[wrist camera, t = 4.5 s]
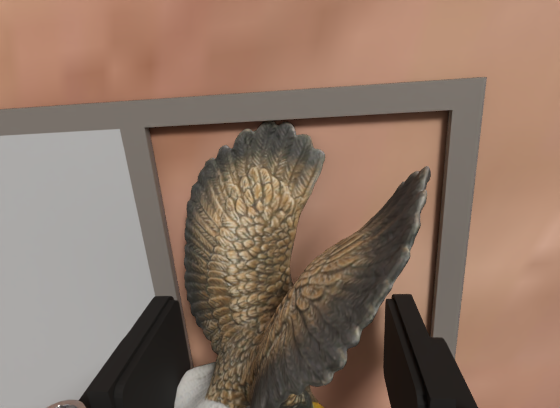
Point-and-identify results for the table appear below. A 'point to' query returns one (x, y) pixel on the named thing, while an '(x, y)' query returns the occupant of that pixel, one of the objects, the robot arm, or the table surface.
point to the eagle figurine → (281, 274)
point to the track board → (160, 218)
